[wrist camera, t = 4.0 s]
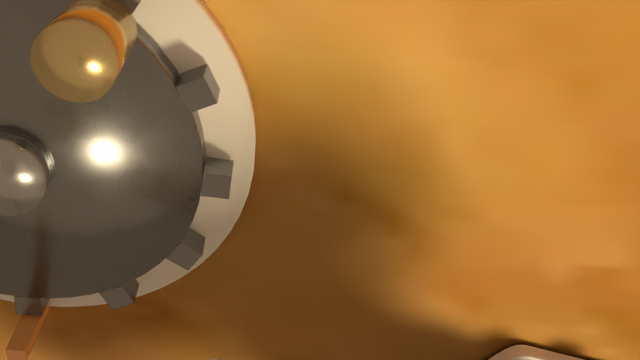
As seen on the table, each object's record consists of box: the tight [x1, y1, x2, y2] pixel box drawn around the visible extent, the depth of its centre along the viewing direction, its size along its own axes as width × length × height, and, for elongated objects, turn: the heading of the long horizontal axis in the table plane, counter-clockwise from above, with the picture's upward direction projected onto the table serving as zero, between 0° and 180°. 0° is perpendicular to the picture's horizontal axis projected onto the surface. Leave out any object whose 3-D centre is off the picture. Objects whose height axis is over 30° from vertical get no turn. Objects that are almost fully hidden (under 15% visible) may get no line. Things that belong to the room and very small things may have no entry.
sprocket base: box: [0, 0, 256, 360], centre depth 29 cm, size 23×23×6 cm
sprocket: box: [0, 0, 234, 316], centre depth 28 cm, size 21×21×6 cm
